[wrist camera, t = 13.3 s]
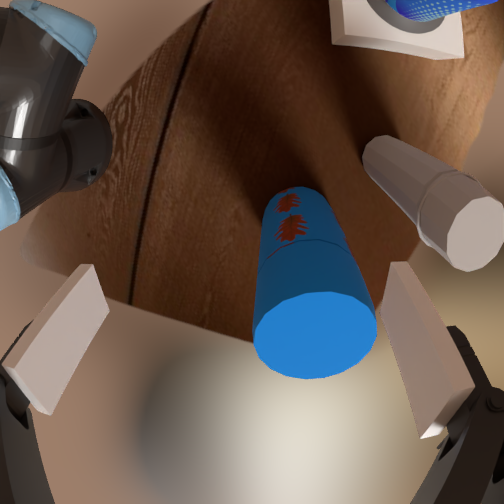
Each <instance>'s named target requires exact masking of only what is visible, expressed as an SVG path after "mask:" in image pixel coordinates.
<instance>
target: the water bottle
mask: <svg viewBox="0 0 504 504" xmlns="http://www.w3.org/2000/svg"><path fill="white" fill-rule="evenodd" d="M362 160H363V166H364V170H365V171H366V172H367V173H368V175H369V176H370V177H371V178H372V179H373V180H374V181H375V182H376V183H377V184H378V185H379V186H380V187H381V188H382V189H383V190H384V191H385V192H386V193H387V194H388V196H389V197H390V198H391V199H392V200H393V201H394V202H395V203H396V204H397V205H398V206H399V207H400V208H401V209H402V210H403V211H404V212H405V214H406V215H407V216H408V217H409V218H410V219H411V220H412V221H413V222H414V223H415V225H416V226H417V230H418V233H419V236H420V238H421V239H422V240H423V241H424V242H425V243H426V244H427V245H428V246H430V247H433V248H434V249H435V250H436V251H437V252H438V253H439V254H441V255H442V256H443V257H444V258H445V259H446V260H447V261H448V262H449V263H450V264H451V265H452V266H453V267H454V268H457V269H461V270H463V271H466V272H469V271H472V270H476V269H479V268H482V267H484V266H485V265H486V264H487V263H488V262H489V261H490V260H492V259H493V258H494V257H495V256H496V255H497V253H498V251H499V249H500V247H501V245H502V243H503V241H504V209H503V206H502V204H501V203H500V202H499V201H498V200H497V199H496V198H495V197H494V196H492V195H491V194H490V193H489V192H488V191H487V190H486V189H484V188H483V187H482V186H481V184H480V183H479V181H478V180H477V179H476V178H475V177H474V176H472V175H471V174H469V173H465V172H461V171H458V170H457V169H455V168H453V167H451V166H449V165H448V164H446V163H444V162H442V161H440V160H438V159H436V158H435V157H433V156H431V155H429V154H427V153H425V152H423V151H421V150H419V149H417V148H415V147H413V146H411V145H409V144H406V143H404V142H402V141H400V140H398V139H395V138H393V137H391V136H388V135H384V136H378V137H375V138H374V139H373V140H371V141H370V142H369V143H368V144H367V145H366V147H365V150H364V153H363V156H362ZM421 231H422V232H421ZM422 233H423V234H422ZM423 235H424V236H425V237H424V236H423ZM425 238H426V239H425Z"/></svg>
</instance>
